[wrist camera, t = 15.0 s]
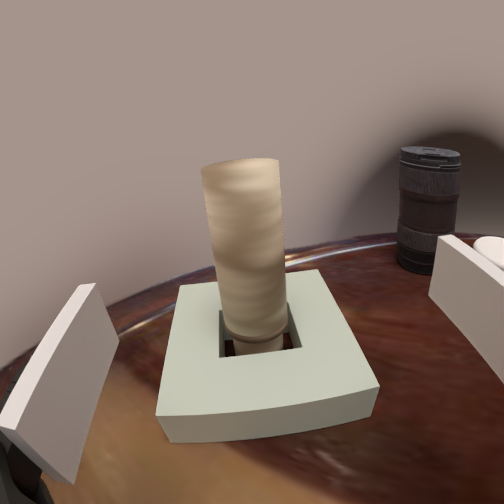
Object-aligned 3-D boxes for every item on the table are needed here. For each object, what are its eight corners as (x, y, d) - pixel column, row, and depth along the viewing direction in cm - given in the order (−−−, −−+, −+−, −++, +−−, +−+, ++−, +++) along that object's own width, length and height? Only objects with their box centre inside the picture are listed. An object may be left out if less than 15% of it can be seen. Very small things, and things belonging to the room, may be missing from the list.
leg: (284, 337, 28) (273, 155, 21) (293, 375, 23) (286, 166, 17) (230, 343, 28) (202, 163, 21) (232, 383, 23) (196, 176, 16)
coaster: (460, 255, 38) (464, 233, 36) (511, 257, 35) (515, 236, 34) (483, 292, 29) (490, 266, 28) (538, 291, 27) (546, 267, 25)
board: (316, 297, 33) (317, 269, 31) (370, 416, 18) (379, 386, 17) (187, 313, 32) (180, 285, 31) (170, 443, 18) (155, 415, 16)
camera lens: (390, 248, 42) (395, 143, 36) (441, 251, 39) (451, 149, 33) (394, 275, 35) (403, 151, 29) (454, 279, 32) (471, 158, 26)
